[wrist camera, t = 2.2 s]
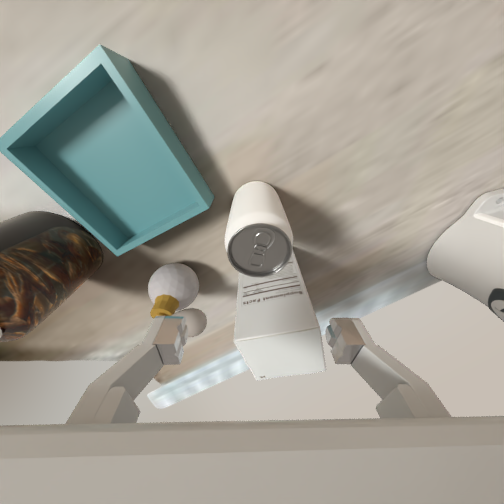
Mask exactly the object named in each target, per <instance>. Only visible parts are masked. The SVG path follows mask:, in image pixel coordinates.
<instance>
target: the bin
mask: <svg viewBox="0 0 504 504" xmlns="http://www.w3.org/2000/svg"><path fill="white" fill-rule="evenodd" d="M0 152H1V153H2V154H4V155H5V156H6V157H7V158H8V159H9V160H10V161H11V162H12V163H14V164H15V165H16V166H17V167H18V168H19V169H20V170H21V171H22V172H24V173H25V174H26V175H27V176H28V177H29V178H30V179H31V180H33V181H34V182H35V183H36V184H37V185H38V186H39V187H40V188H41V189H43V190H44V191H45V192H46V193H47V194H48V195H49V196H50V197H51V198H53V199H54V200H55V201H56V202H57V203H58V204H59V205H60V206H61V207H63V208H64V209H65V210H66V211H67V212H68V213H69V214H70V215H72V216H73V217H74V218H75V219H76V220H77V221H78V222H79V223H80V224H82V225H83V226H84V227H85V228H86V229H87V230H88V231H89V232H90V233H92V234H93V235H94V236H95V237H96V238H97V239H98V240H99V241H101V242H102V243H103V244H104V245H105V246H106V247H107V248H108V249H109V250H111V251H112V252H113V253H114V254H115V255H116V256H117V257H118V256H120V255H121V254H123V253H125V252H127V251H129V250H131V249H133V248H135V247H137V246H139V245H140V244H142V243H144V242H146V241H148V240H150V239H152V238H154V237H156V236H158V235H159V234H161V233H163V232H165V231H167V230H169V229H171V228H173V227H175V226H177V225H179V224H180V223H182V222H184V221H186V220H188V219H190V218H192V217H194V216H196V215H198V214H199V213H201V212H203V211H205V210H207V209H209V208H210V206H211V204H212V202H213V199H214V195H213V193H212V192H211V190H210V189H209V187H208V185H207V184H206V182H205V181H204V179H203V177H202V176H201V174H200V173H199V171H198V169H197V168H196V166H195V165H194V163H193V162H192V160H191V158H190V157H189V155H188V154H187V152H186V150H185V149H184V147H183V146H182V144H181V142H180V141H179V139H178V138H177V136H176V134H175V133H174V131H173V130H172V128H171V126H170V125H169V123H168V122H167V120H166V119H165V117H164V115H163V114H162V112H161V111H160V109H159V107H158V106H157V104H156V103H155V101H154V99H153V98H152V96H151V95H150V93H149V91H148V90H147V88H146V87H145V85H144V84H143V82H142V80H141V79H140V77H139V76H138V74H137V72H136V71H135V69H134V68H133V66H132V64H131V63H130V61H129V60H128V59H127V58H125V57H123V56H121V55H119V54H117V53H115V52H114V51H112V50H110V49H108V48H106V47H104V46H102V45H100V44H99V45H98V46H97V47H96V48H95V49H94V50H93V51H92V52H91V53H90V54H89V55H88V56H87V57H85V58H84V59H83V60H82V61H81V62H80V63H79V64H78V65H77V66H76V67H75V68H74V69H73V70H72V71H71V72H70V73H68V74H67V75H66V76H65V77H64V78H63V79H62V80H61V81H60V82H59V83H58V84H57V85H56V86H55V87H54V88H53V89H51V90H50V91H49V92H48V93H47V94H46V95H45V96H44V97H43V98H42V99H41V100H40V101H39V102H38V103H37V104H36V105H34V106H33V107H32V108H31V109H30V110H29V111H28V112H27V113H26V114H25V115H24V116H23V117H22V118H21V119H20V120H19V121H18V122H16V123H15V124H14V125H13V126H12V127H11V128H10V129H9V130H8V131H7V132H6V133H5V134H4V135H3V136H2V137H1V138H0Z"/></svg>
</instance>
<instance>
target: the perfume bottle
mask: <svg viewBox="0 0 504 504" xmlns="http://www.w3.org/2000/svg"><path fill="white" fill-rule="evenodd" d="M198 291H199V281H198V277H197V275H196V273H195V272H194V271H193V270H192V269H191V268H190V267H188V266H186V265H184V264H180V263H170V264H166V265H164V266H162V267H160V268H159V269H158V270H156V271H155V273H154V274H153V275H152V276H151V278H150V281H149V283H148V293H149V297H150V299H151V300H152V302H153V304H155V305H154V307H153V308H152V310H151V312H150V313H151V316H152V318H153V319H154V318H155V317H156V316H181V317H186V323H185V324H186V325H187V326H188V336H187V337H194V336H198V335H199V334H201V333H202V332H203V331H204V329H205V327H206V325H207V319H206V316H205V314H204V313H203V312H202V311H201V310H199V309H193V308H190V309H184V308H186V307H188V306H189V305H190V304H191V303H192V302H193V301H194V299H195V298H196V296H197V294H198ZM181 309H184V310H181ZM178 310H181V311H178ZM175 311H178V312H176V313H175Z"/></svg>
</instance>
